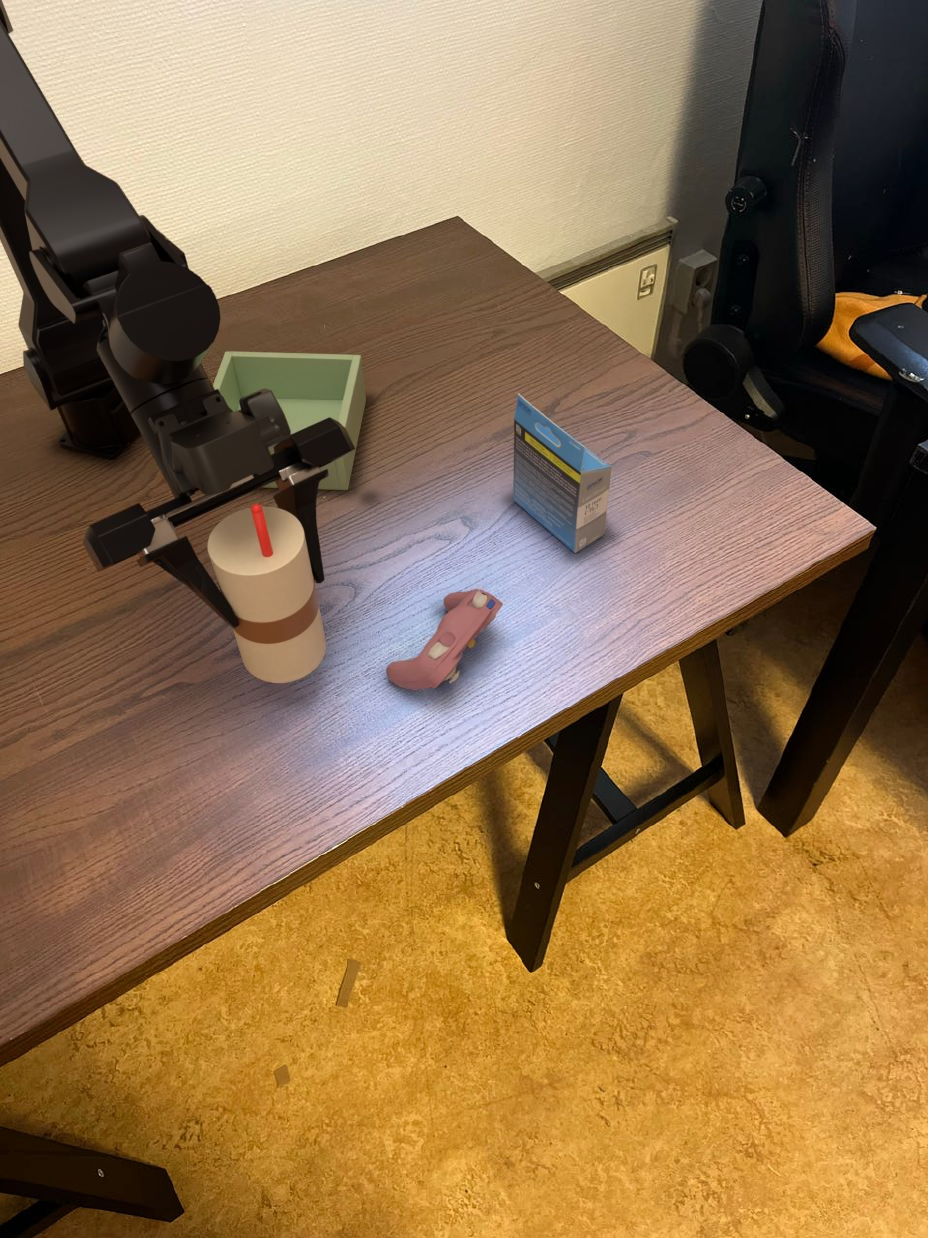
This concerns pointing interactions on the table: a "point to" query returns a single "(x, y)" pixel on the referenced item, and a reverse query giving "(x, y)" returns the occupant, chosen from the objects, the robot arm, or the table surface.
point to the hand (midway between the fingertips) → (278, 604)
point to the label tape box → (558, 479)
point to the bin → (302, 394)
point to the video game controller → (447, 641)
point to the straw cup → (269, 592)
